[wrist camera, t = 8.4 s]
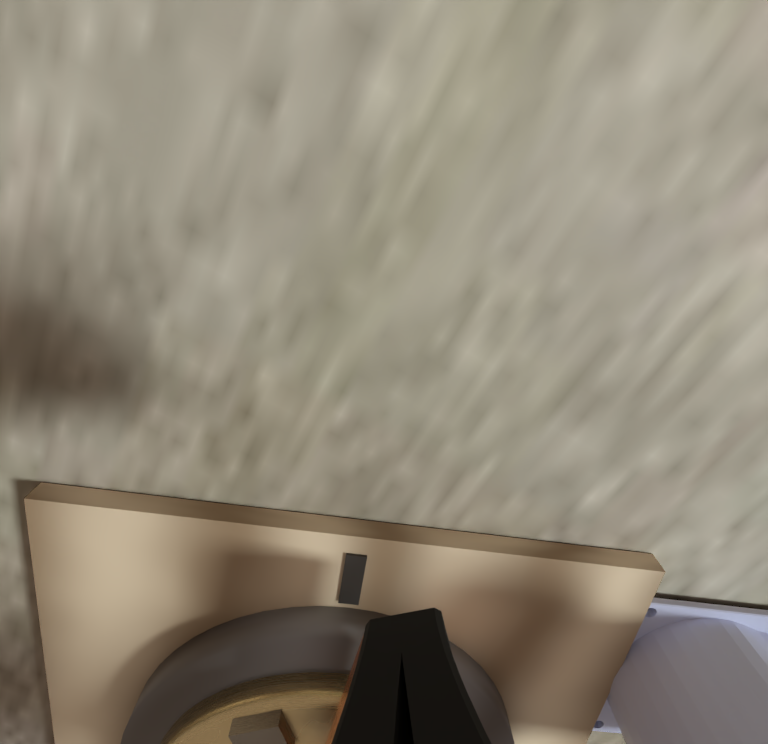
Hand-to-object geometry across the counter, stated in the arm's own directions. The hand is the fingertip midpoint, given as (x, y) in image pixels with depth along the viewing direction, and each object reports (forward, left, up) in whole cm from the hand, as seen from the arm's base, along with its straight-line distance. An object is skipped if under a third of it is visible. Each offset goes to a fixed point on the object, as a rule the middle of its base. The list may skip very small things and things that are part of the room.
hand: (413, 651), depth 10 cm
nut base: (+1, +17, -9) cm, 19 cm away
